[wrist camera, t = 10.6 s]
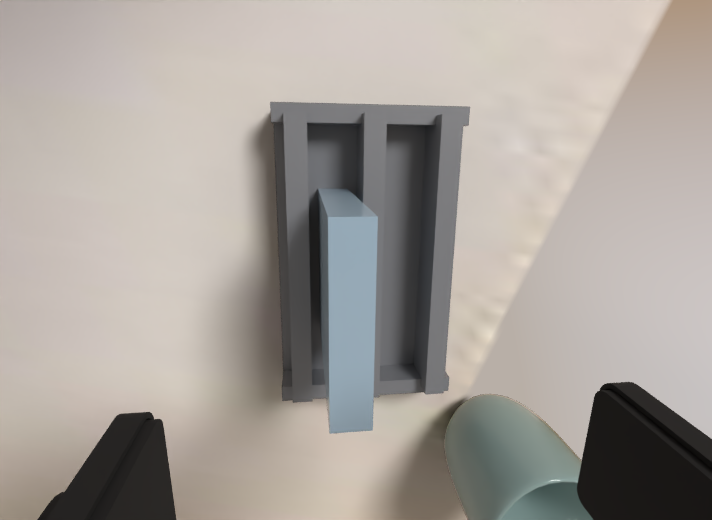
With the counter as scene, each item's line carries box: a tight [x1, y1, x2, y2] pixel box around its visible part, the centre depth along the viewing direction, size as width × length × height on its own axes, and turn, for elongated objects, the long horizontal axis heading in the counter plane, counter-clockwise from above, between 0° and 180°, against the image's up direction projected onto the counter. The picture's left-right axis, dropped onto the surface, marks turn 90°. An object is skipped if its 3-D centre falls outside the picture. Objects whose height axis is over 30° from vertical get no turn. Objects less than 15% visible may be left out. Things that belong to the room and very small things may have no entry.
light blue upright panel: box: [318, 189, 378, 433], centre depth 21 cm, size 9×2×11 cm, turn 1°
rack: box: [270, 102, 470, 402], centre depth 26 cm, size 18×11×4 cm, turn 0°
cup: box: [444, 394, 593, 520], centre depth 28 cm, size 8×8×10 cm
